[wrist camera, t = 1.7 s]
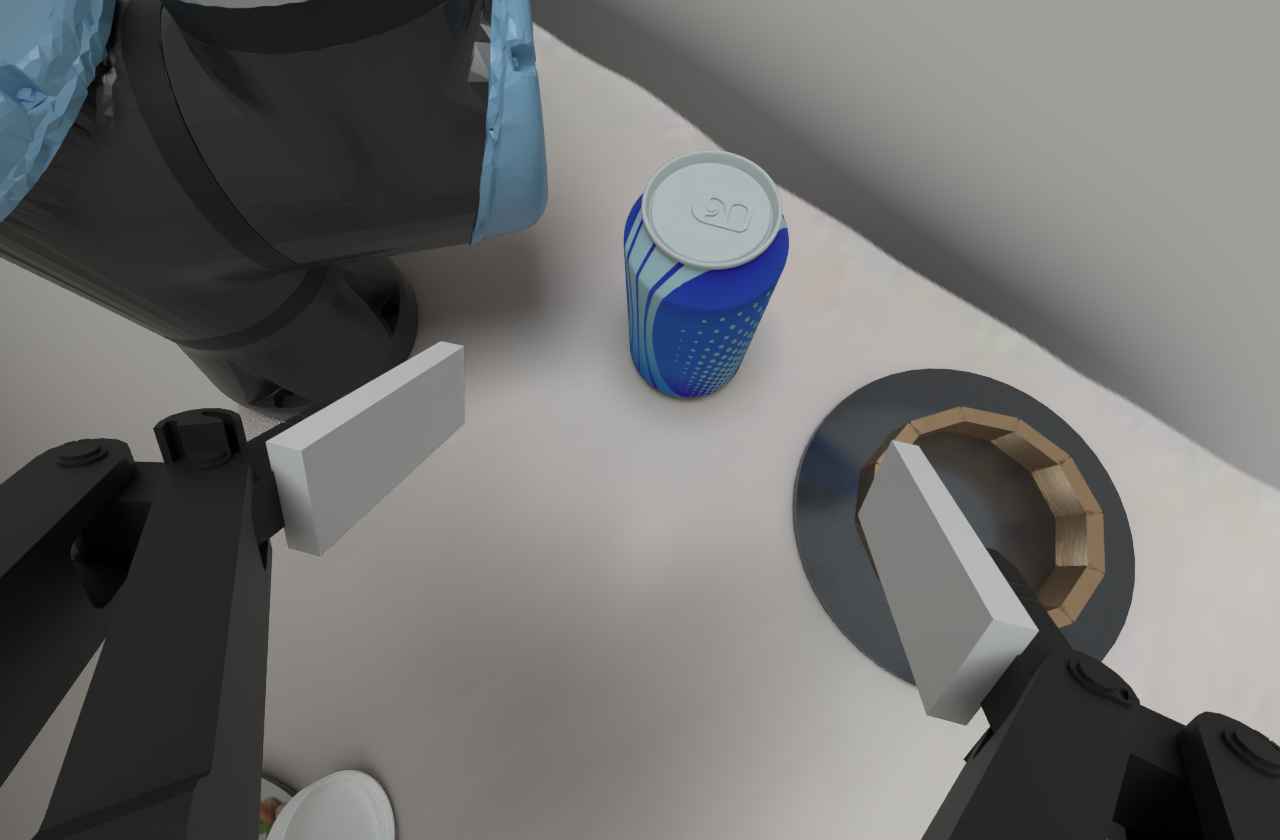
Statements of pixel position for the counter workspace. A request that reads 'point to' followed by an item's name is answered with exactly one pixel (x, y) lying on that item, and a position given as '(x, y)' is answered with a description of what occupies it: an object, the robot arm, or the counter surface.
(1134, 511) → the counter surface
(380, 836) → the spread jar
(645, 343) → the beer can
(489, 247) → the counter surface
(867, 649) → the collar plate
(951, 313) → the counter surface
